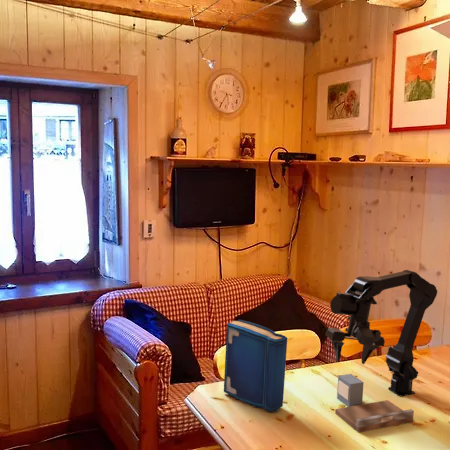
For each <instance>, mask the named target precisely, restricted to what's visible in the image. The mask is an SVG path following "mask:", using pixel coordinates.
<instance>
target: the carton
mask: <svg viewBox="0 0 450 450" xmlns="http://www.w3.org/2000/svg"><path fill="white" fill-rule="evenodd" d="M364 383H365V382H364V381H362V379H359V378H358V377H357V376H355V375H353V374H352V373H348V374H341V375H337V389H336V390H337V391H336V399H337V400H338V401H339V402H341V403H342V404H343V405H345V407H350V406H356V405H362V404H363V397H364Z"/></svg>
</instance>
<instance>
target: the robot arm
mask: <svg viewBox="0 0 450 450" xmlns="http://www.w3.org/2000/svg"><path fill="white" fill-rule="evenodd" d="M402 286H406V287H407V288H408V289H409V294H408V297H409V303H410V306H409V308H408V312H407V315H406V318H405V320H404V322H403V323H404V324H403V325H402V326H403V327H402V330H401V332H400V336H399V338H398V342H396V344H395V345H394V346H389V347H388V351H387V353H386V355H385V358H386V359H385V362H386V365H387V368H388V371H389V372H392V373H391V374H392V375H391V380H390V386H389V387H388V390H390V391H391V392H392V393H394V394H396V395H397V396H399V397H405V396H410V395H415V394H416V392H415V391H414V390H413V383H414V379H417V377H418V375H419V372H418V370H417V369H416V368H415V367H414V366H413V364H414V352H413V348H414V344H415V341H416V339H417V335H418V332H419V330H420V327H421V325H422V320H423V318H424V315H425V311H427V309H428V308H429V307H430V306H432V305H433V303H434V301H435V299H436V298H437V294H438V289H437V286H435V284H433V283H430V282H429V281H428V280H426V279H425V278H423V277H422V276H420V275H419V274H418V273H417V272H416V271H413V270H410V269H404V270H402V271H399V272H393V273H390V274H389V273H388V274H384V275H380V276H365V275H364V276H362V275H361V276H357V277H356V278H355V279H354V281H353V283H352V284H351V285H350V286H349V287H348V288H347V289H346V291H345V292H344V293H342V292H338V291H337V292H336V295H335V296H333V297H332V298H331V300H330V303H329V305H330V306H329V307H330V311H331V313H333V314H334V315H344V316H347V320H349V322H348V326H347V327H346V328H345V332H344V331H342V330H340V328H334V327H328V328H327V329H326V331H325V336H326V337H327V338H328V340H330V341H331V344H332V346H333V350H334V354H335V360H336V362H340V360H341V359H340V358H341V354H342V348H343V347H344V344H345V342H344V341H345V339H346V340H354V341H355V340H356V341H357V343H358V344H360V345H362V350H361V351H362V353H361V364H362V365H365V364H366V361H367V360H368V359H369V357H370V356H371V354H372V353H373V352H374V351H375V350H377V349H380V348H381V347H384V346H385V342H386V340H385V337H384V336H382V332H381V331H380V329H371V327H370V326H371V322H370V321H369V318H370V317H369V316H370V312H371V307H372V305H378V302H377V301H376V300H375V298H374V297H376V296H379V295H380V294H382V292H383V291H386V290H388V289H393V288H397V287H402Z"/></svg>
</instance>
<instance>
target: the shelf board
mask: <svg viewBox="0 0 450 450" xmlns="http://www.w3.org/2000/svg"><path fill="white" fill-rule="evenodd" d="M334 413H335V415H337V416H338V417H339V418H340V419H341V420H342V421H343V422H345V423H346V424H347V425H349V427H351V428H352V429H353V430H354V431H356V432H357V433H362V432H366V431H372V430H377V429H382V428H387V427H393V426H397V425H404V424H409V423H413V422H414V413H415V412H414V410H413V409H411V408H410V409H409V408H408V409H405V410H403V409H402V408H401V407H399V406H398V405H396V404H394V403H393V402H391V401H390V400H388V399H385V400H380V401H375V402H369V403H362V405H356V406H350V407H347V406H345V407H338V408H335V411H334Z"/></svg>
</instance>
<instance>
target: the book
mask: <svg viewBox="0 0 450 450" xmlns="http://www.w3.org/2000/svg"><path fill="white" fill-rule="evenodd" d="M287 349H288V337H287V336H285V335H283V334H281V333H276V332H275V331H273V329H271V328H268V327H266V326H263V325H260V324H257V323H254V322H250V321H246V320H243V319H239V318H238V320H232V321H231V322H227V324H226V339H225V356H224V359H225V360H224V361H225V362H224V377H223V378H224V380H223V392H224V393H225V394H228V395H229V396H231V397H233V398H234V399H237V400H238V401H241V402H242V403H246V404H248V405H250V406H252V407H254V408H258V409H259V408H260V409H264V410H265V411H266V412H269V413H273V412H277V411H279V410H280V409H281V408H282V407H283V406H284V393H285V392H284V391H285V381H286V380H285V378H286V363H287Z"/></svg>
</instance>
